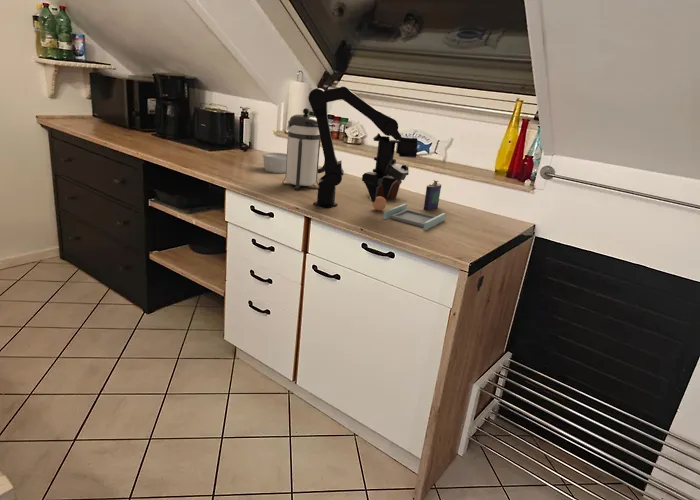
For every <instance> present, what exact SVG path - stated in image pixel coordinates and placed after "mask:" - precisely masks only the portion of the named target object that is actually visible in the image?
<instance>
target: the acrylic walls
mask: <svg viewBox="0 0 700 500" xmlns="http://www.w3.org/2000/svg"><path fill="white" fill-rule="evenodd" d="M407 206H408V203H402V204H401V205H397V206H395V207H392V208H390V209H387V210H385V211H383V217H382V218H383V219H384V220H387V219H389V218H390V219H391V215H393V214H396V213H398V212H401V211H403V210H406V209H408V208H407ZM446 215H447V214H446V213H445V212H443V213H441V214H439V215H435V216H436V217H434V218H432V219H430V220H428V221H426V222H425V224H424V227H423V231H427V230H429V229H431V228H433V227H434V226H437V225H439V224H440V223H442V222H444V221H445V219H446Z"/></svg>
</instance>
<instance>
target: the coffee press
mask: <svg viewBox="0 0 700 500" xmlns="http://www.w3.org/2000/svg"><path fill="white" fill-rule="evenodd" d="M302 113H303V114H294V115H291V117H290V118H289V120H288V121H287V122H288V125H287V127H286V130H287V145H286V146H287V149H286V154H287V162H286V173H285V178H284V179H283V180H282V185H286V184H287V183H289V184H291V185H294V186H295V187H294V190H296V191H299V190H300V187H301V186H302V187H304V186H308V187H309V186H313V187H314V188H315V189H317V190H318V188H319V185H318V184H319V181H318V174H323V173H325V160H324V163H323V165H322V166H321V168H319V163H320V162H319V161H320V160H319V159H320V151H321V150H320V148H321V139H320V134H319V129H318V124H317V119H316V117H315V115H310V114H309V113H310V110H309V108H307V107H305V108H303V110H302ZM285 180H286V181H287V182H284V181H285ZM315 184H316V185H317V186H318V187H317V186H316V185H315Z"/></svg>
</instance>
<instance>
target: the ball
mask: <svg viewBox="0 0 700 500" xmlns="http://www.w3.org/2000/svg"><path fill="white" fill-rule="evenodd" d="M371 202H372V201H371ZM371 205H372V208H373V209H375V211H383V210H385V209H386V207H387V199H385V198H384V197H381V196H378V197H376V200H375V202H372V203H371Z"/></svg>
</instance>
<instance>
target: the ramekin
mask: <svg viewBox="0 0 700 500" xmlns="http://www.w3.org/2000/svg"><path fill="white" fill-rule="evenodd" d="M262 158H263V167H264V170H265V171H266V172H270V173H275V174H286V162H287V153H283V152H275V151H274V152H273V151H272V152H271V151H269V152H268V151H267V152H263V155H262Z"/></svg>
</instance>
